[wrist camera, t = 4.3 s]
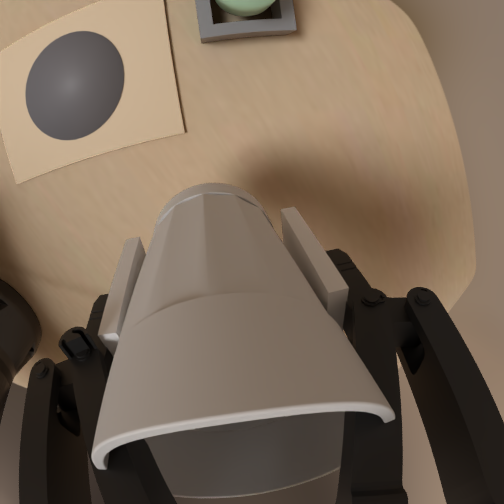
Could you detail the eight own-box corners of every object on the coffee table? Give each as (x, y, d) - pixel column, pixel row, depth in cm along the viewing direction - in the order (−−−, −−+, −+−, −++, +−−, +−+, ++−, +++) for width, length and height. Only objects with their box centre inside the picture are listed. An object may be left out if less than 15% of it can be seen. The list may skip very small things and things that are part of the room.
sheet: (18, 183, 22) (16, 184, 22) (-10, 59, 15) (-13, 59, 14) (184, 132, 23) (184, 133, 23) (161, -16, 16) (160, -18, 15)
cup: (127, 176, 13) (23, 411, 3) (288, 162, 14) (450, 357, 5) (154, 300, 18) (147, 500, 8) (281, 287, 19) (349, 472, 9)
